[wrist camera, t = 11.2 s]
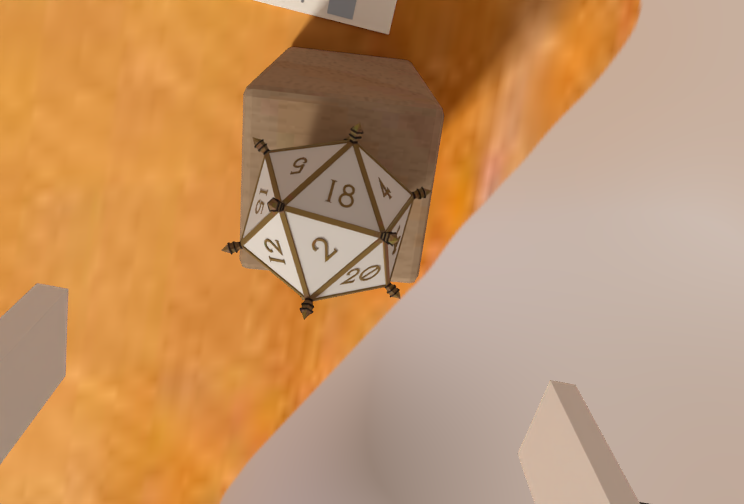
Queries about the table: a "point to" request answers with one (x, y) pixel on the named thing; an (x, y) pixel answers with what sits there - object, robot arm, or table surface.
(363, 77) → the wooden block
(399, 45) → the table surface
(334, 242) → the game die
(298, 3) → the page
